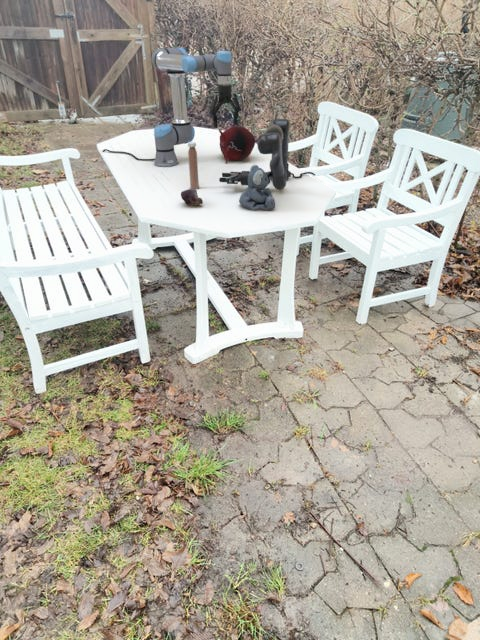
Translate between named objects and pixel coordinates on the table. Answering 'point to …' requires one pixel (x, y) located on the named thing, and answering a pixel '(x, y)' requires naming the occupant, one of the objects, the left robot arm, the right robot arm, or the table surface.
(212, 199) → the table surface
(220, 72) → the left robot arm
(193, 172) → the bottle
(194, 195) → the rock
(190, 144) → the cap
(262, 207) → the koala plush
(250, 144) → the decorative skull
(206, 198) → the table surface
